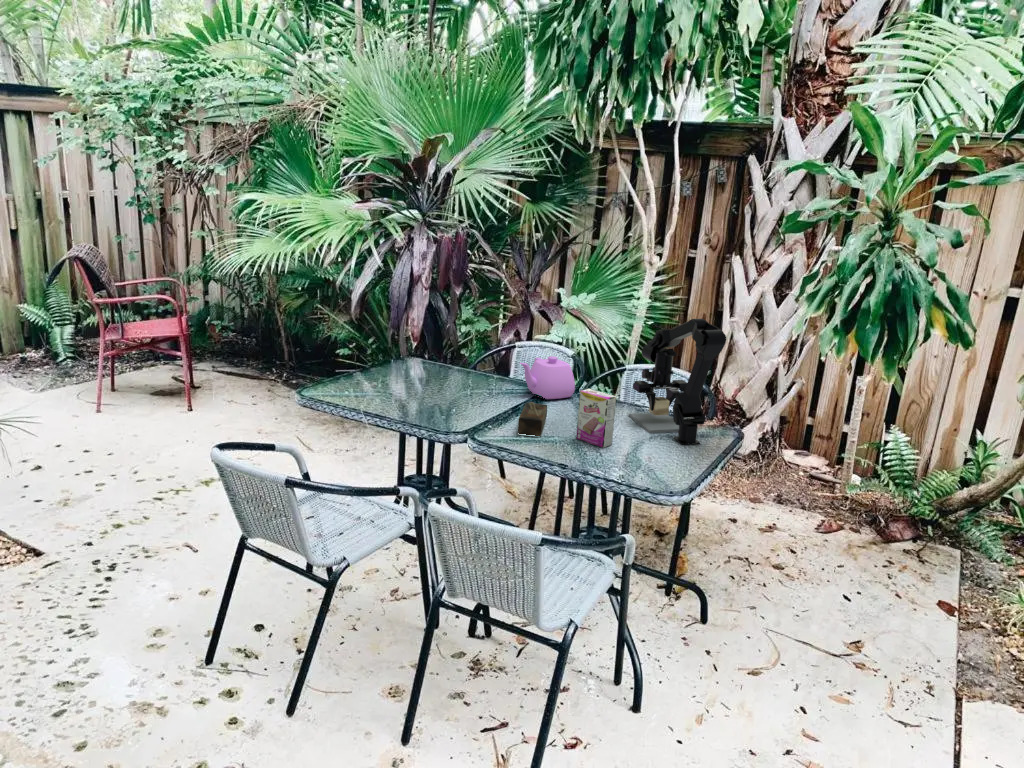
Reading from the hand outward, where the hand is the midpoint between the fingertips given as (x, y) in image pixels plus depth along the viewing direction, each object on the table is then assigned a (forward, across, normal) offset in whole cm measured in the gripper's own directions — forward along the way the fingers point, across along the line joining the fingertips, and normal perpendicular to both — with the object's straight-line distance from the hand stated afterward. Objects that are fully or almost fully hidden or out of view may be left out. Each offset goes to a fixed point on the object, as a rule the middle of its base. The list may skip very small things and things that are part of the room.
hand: (658, 410), depth 261 cm
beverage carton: (+6, +45, -1) cm, 45 cm away
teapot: (+5, +28, -37) cm, 47 cm away
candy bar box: (+5, +29, +15) cm, 33 cm away
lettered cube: (+1, 0, 0) cm, 1 cm away
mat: (+5, 0, 0) cm, 5 cm away
